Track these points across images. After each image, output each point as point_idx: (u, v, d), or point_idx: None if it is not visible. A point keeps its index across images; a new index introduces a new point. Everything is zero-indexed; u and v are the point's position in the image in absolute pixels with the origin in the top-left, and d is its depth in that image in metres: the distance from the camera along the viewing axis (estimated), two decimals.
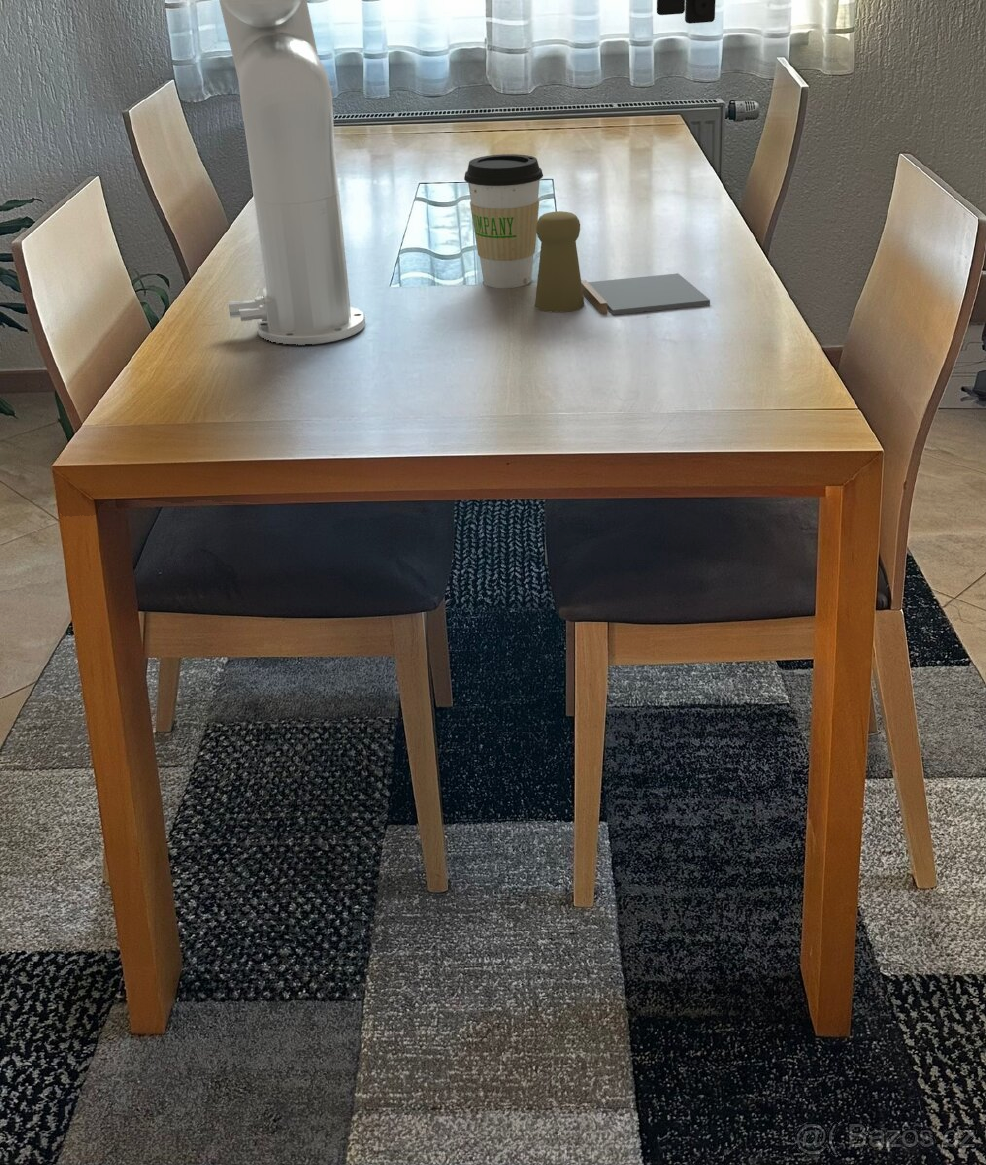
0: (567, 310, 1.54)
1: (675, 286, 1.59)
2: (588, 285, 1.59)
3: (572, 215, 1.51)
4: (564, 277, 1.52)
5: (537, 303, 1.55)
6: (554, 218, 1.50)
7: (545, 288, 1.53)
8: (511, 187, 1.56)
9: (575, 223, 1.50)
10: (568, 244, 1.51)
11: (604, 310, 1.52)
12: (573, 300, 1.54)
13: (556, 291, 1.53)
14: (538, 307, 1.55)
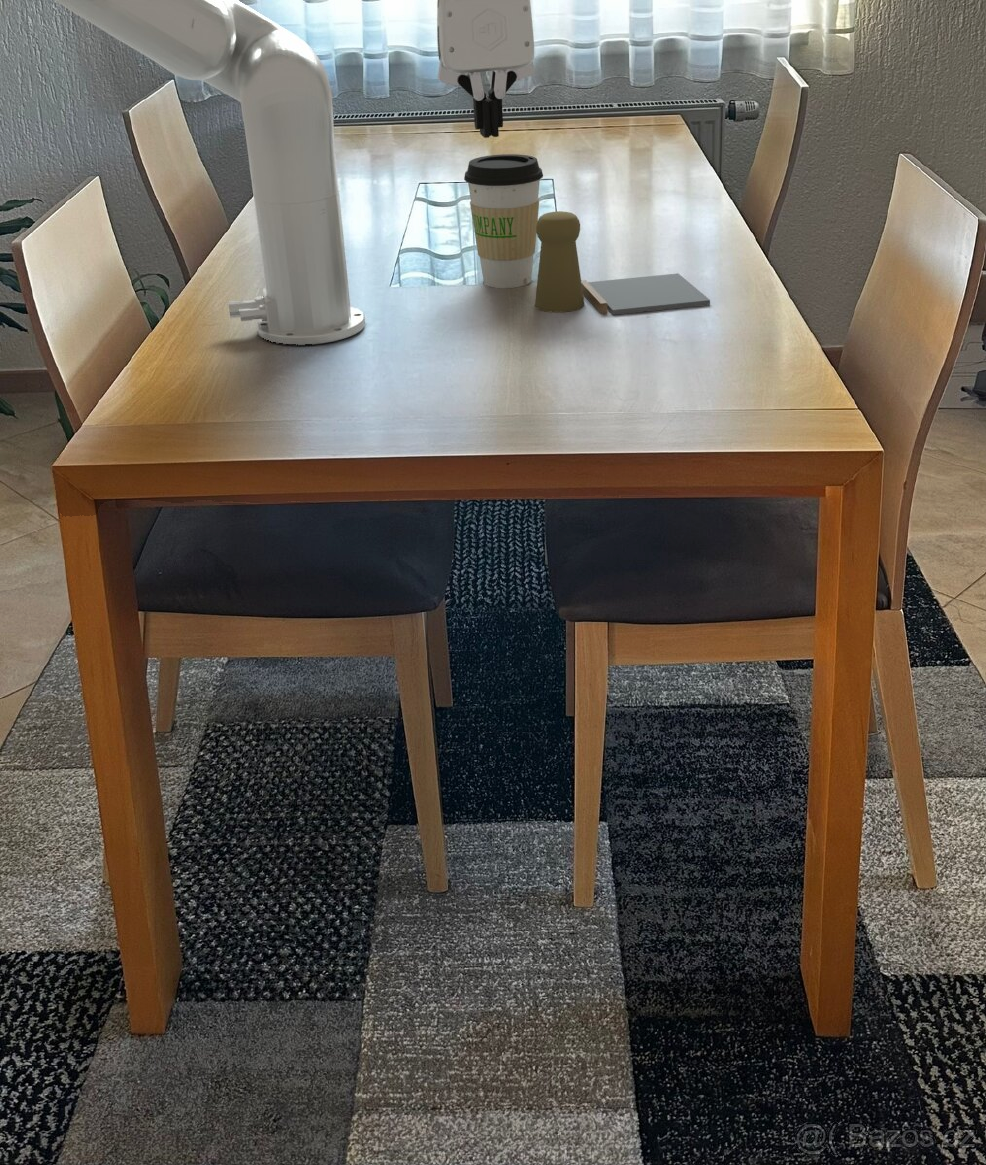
0: (567, 310, 1.54)
1: (675, 286, 1.59)
2: (588, 285, 1.59)
3: (572, 215, 1.51)
4: (564, 277, 1.52)
5: (537, 303, 1.55)
6: (554, 218, 1.50)
7: (545, 288, 1.53)
8: (511, 187, 1.56)
9: (575, 223, 1.50)
10: (568, 244, 1.51)
11: (604, 310, 1.52)
12: (573, 300, 1.54)
13: (556, 291, 1.53)
14: (538, 307, 1.55)
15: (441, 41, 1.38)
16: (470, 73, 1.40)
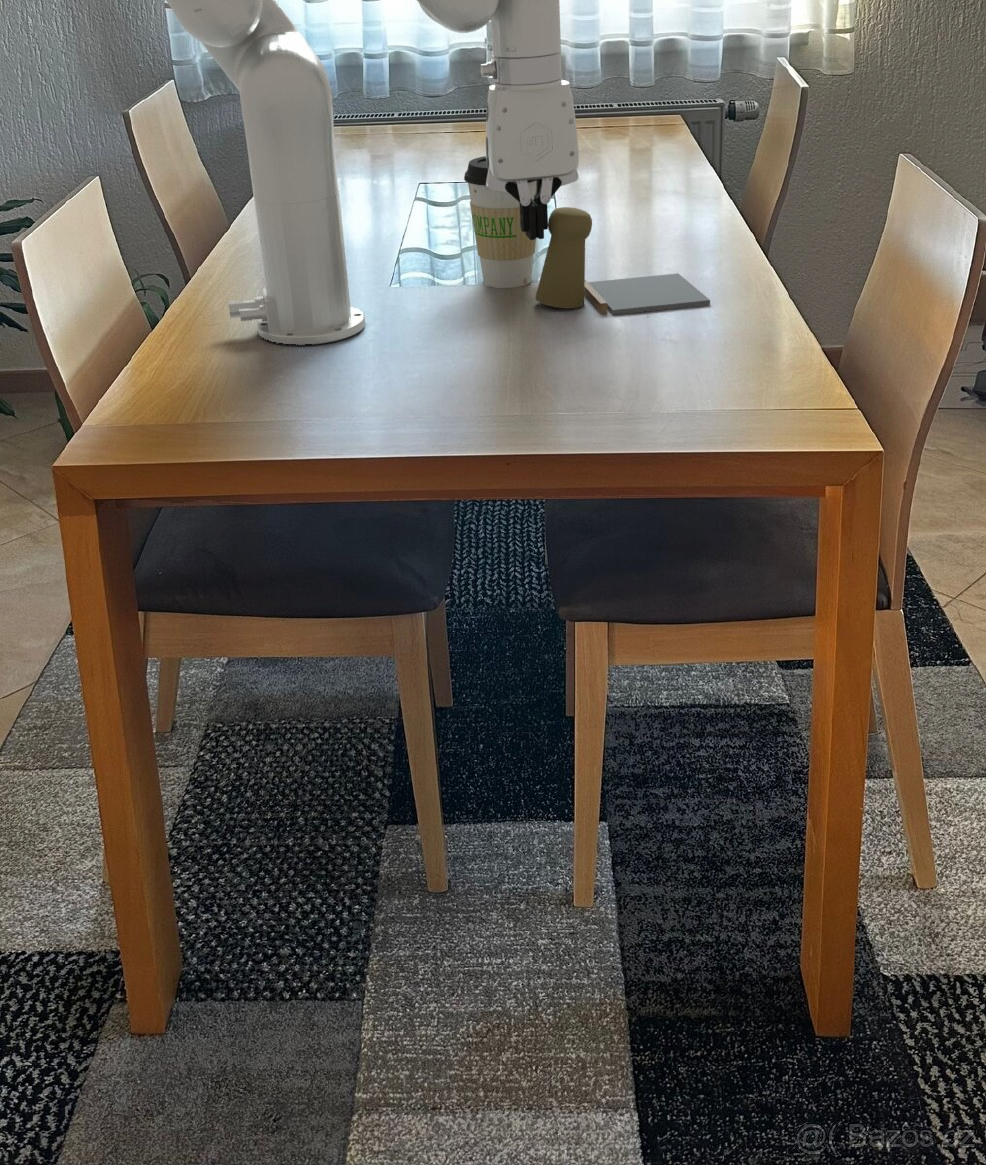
0: (567, 306, 1.53)
1: (675, 286, 1.59)
2: (588, 285, 1.59)
3: (586, 213, 1.51)
4: (569, 273, 1.52)
5: (538, 296, 1.55)
6: (568, 213, 1.50)
7: (548, 281, 1.53)
8: None
9: (588, 221, 1.50)
10: (578, 240, 1.51)
11: (604, 310, 1.52)
12: (575, 297, 1.53)
13: (559, 286, 1.53)
14: (539, 300, 1.55)
15: (490, 152, 1.44)
16: (517, 181, 1.47)
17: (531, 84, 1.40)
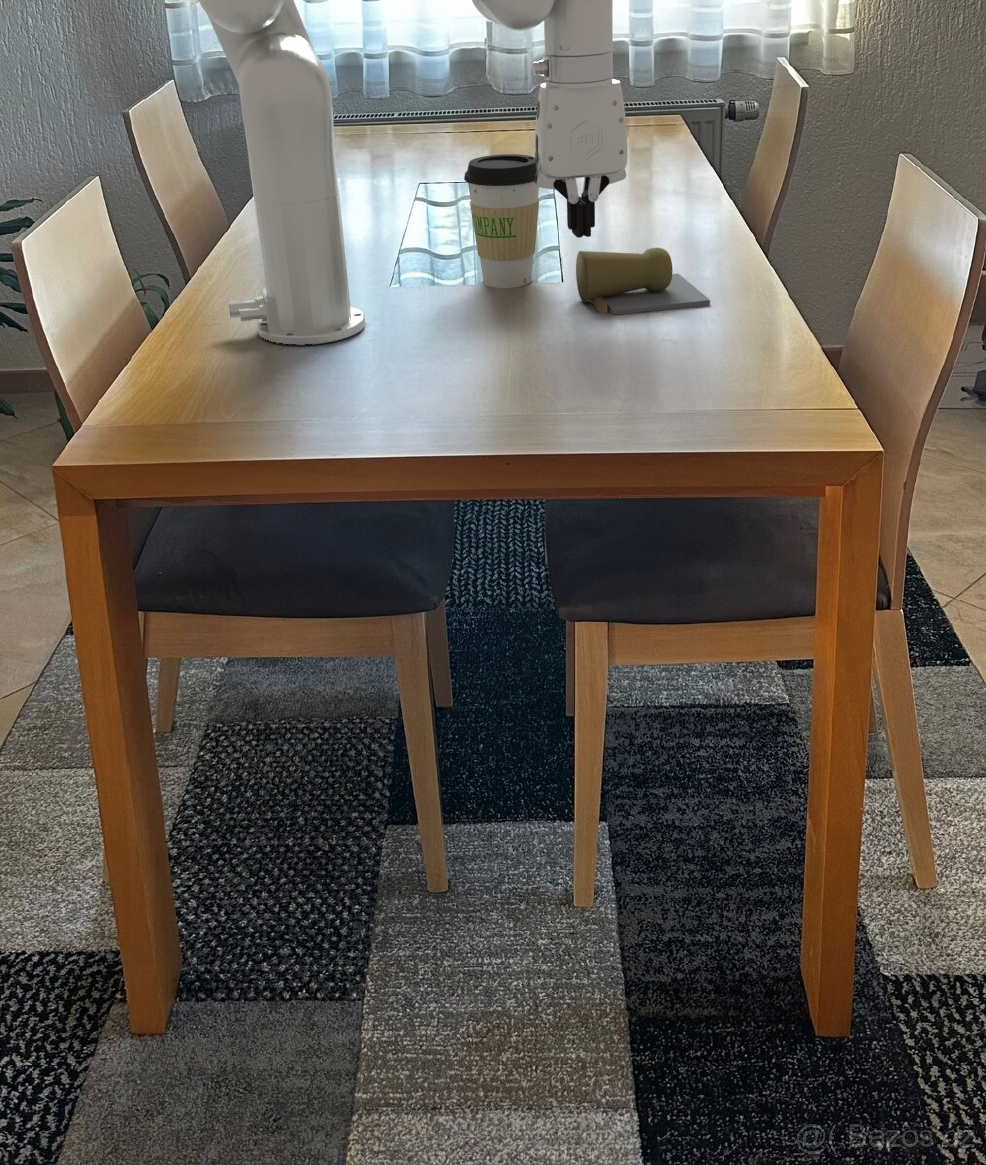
0: (589, 286, 1.53)
1: (675, 286, 1.59)
2: None
3: None
4: (619, 280, 1.53)
5: (588, 254, 1.53)
6: None
7: (607, 261, 1.53)
8: (511, 187, 1.56)
9: (665, 287, 1.56)
10: (648, 281, 1.55)
11: (604, 310, 1.52)
12: (596, 291, 1.54)
13: (607, 273, 1.53)
14: (585, 255, 1.53)
15: (540, 150, 1.45)
16: (566, 179, 1.48)
17: (583, 82, 1.41)
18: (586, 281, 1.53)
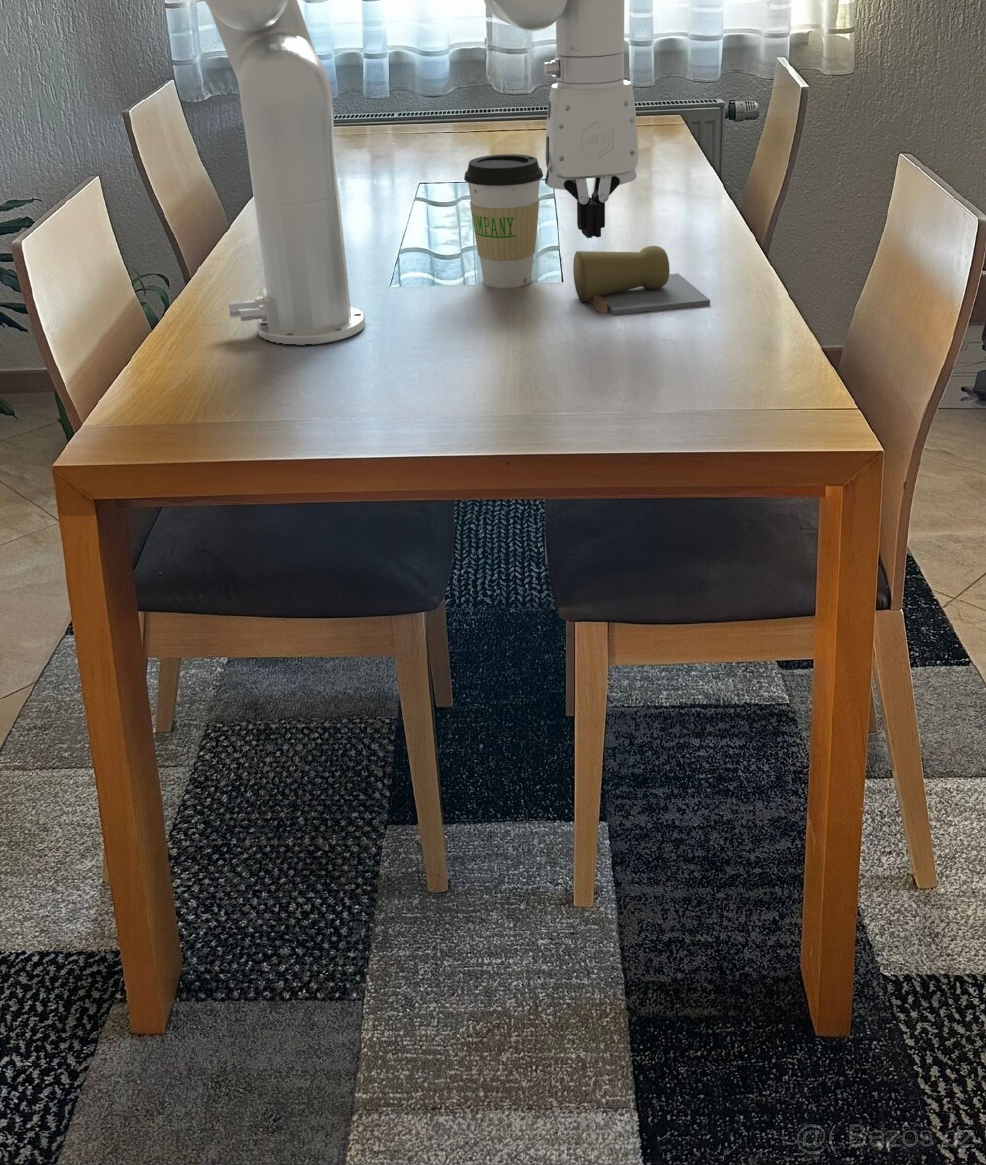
0: (587, 277, 1.53)
1: (675, 286, 1.59)
2: None
3: None
4: (616, 271, 1.54)
5: (583, 251, 1.55)
6: None
7: (602, 255, 1.54)
8: (511, 187, 1.56)
9: (664, 279, 1.56)
10: (646, 274, 1.55)
11: (604, 310, 1.52)
12: (595, 283, 1.54)
13: (603, 264, 1.53)
14: (580, 251, 1.54)
15: (551, 150, 1.46)
16: (577, 179, 1.48)
17: (595, 83, 1.41)
18: (583, 274, 1.54)
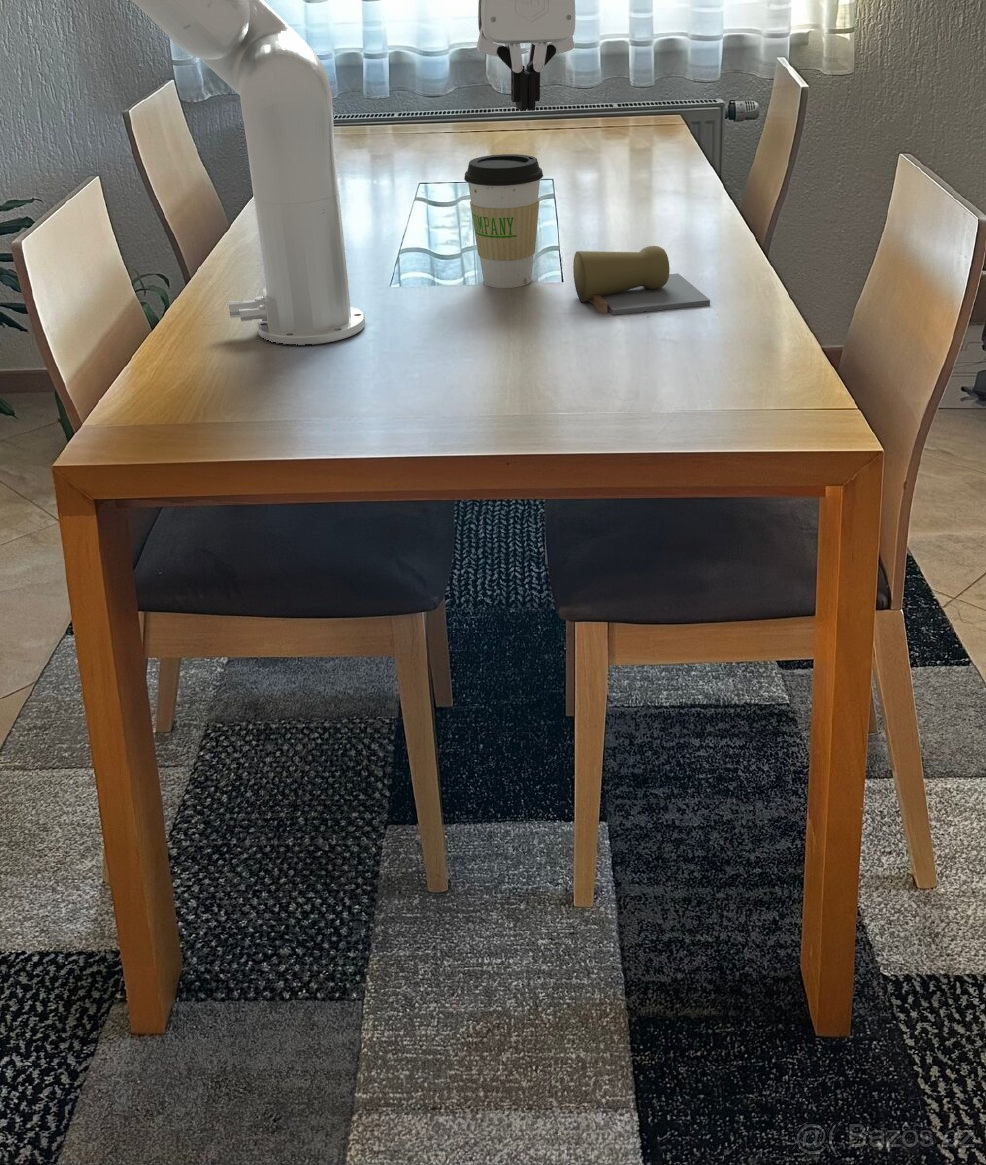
0: (587, 277, 1.53)
1: (675, 286, 1.59)
2: None
3: None
4: (616, 271, 1.54)
5: (583, 251, 1.55)
6: None
7: (602, 255, 1.54)
8: (511, 187, 1.56)
9: (664, 279, 1.56)
10: (646, 274, 1.55)
11: (604, 310, 1.52)
12: (595, 283, 1.54)
13: (603, 264, 1.53)
14: (580, 251, 1.54)
15: (483, 10, 1.37)
16: (510, 44, 1.40)
17: None
18: (583, 274, 1.54)
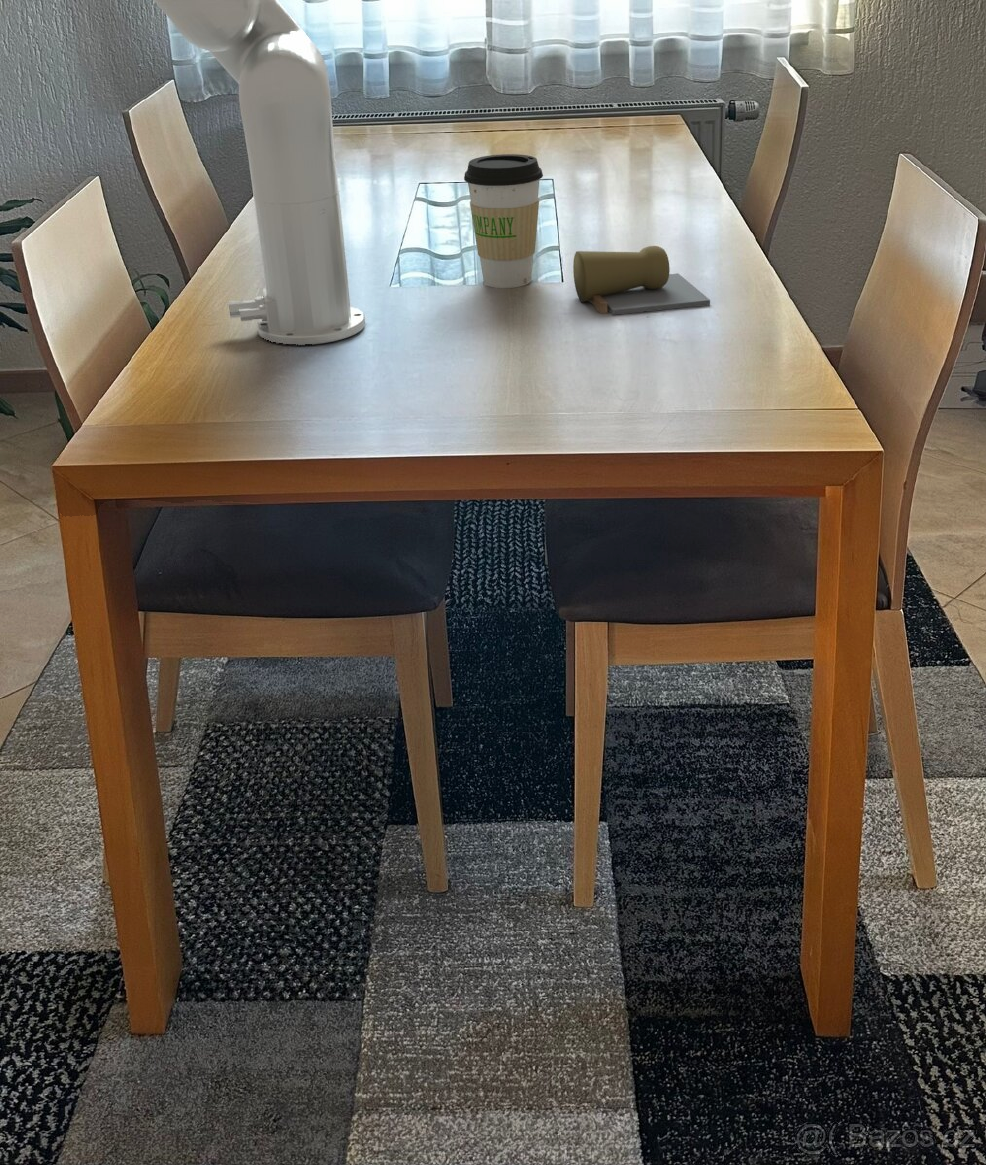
0: (587, 277, 1.53)
1: (675, 286, 1.59)
2: None
3: None
4: (616, 271, 1.54)
5: (583, 251, 1.55)
6: None
7: (602, 255, 1.54)
8: (511, 187, 1.56)
9: (664, 279, 1.56)
10: (646, 274, 1.55)
11: (604, 310, 1.52)
12: (595, 283, 1.54)
13: (603, 264, 1.53)
14: (580, 251, 1.54)
15: None
16: None
17: None
18: (583, 274, 1.54)
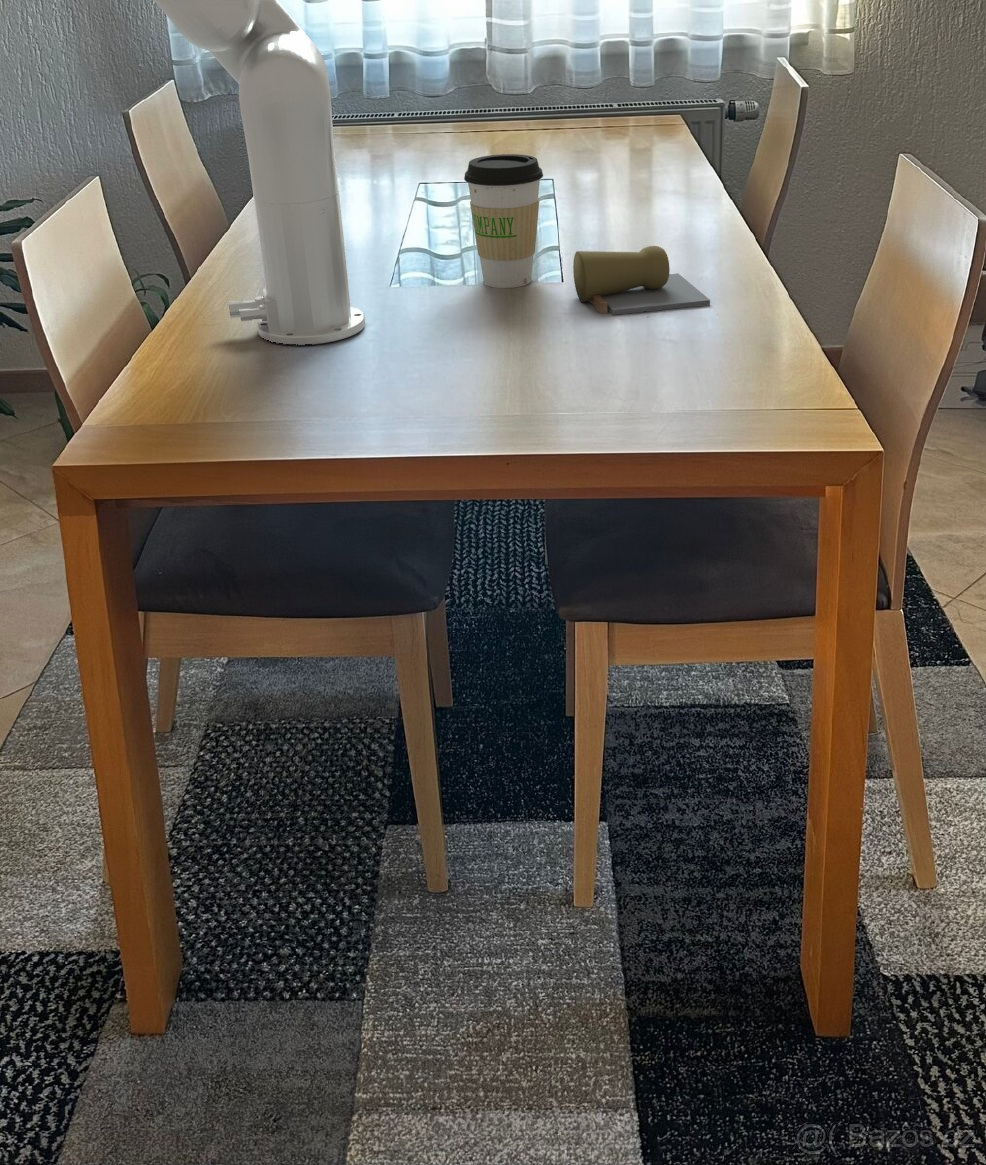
0: (587, 277, 1.53)
1: (675, 286, 1.59)
2: None
3: None
4: (616, 271, 1.54)
5: (583, 251, 1.55)
6: None
7: (602, 255, 1.54)
8: (511, 187, 1.56)
9: (664, 279, 1.56)
10: (646, 274, 1.55)
11: (604, 310, 1.52)
12: (595, 283, 1.54)
13: (603, 264, 1.53)
14: (580, 251, 1.54)
15: None
16: None
17: None
18: (583, 274, 1.54)
